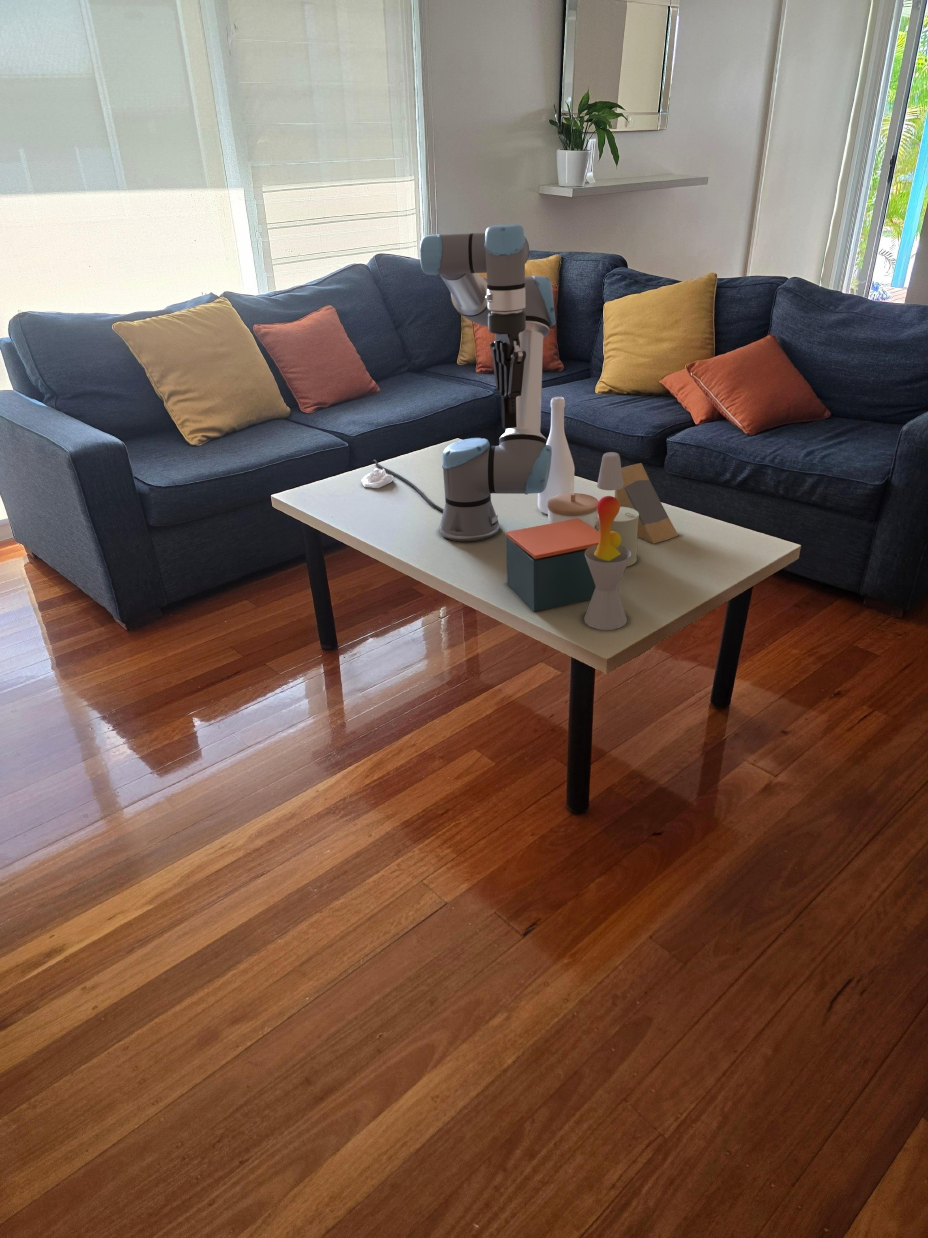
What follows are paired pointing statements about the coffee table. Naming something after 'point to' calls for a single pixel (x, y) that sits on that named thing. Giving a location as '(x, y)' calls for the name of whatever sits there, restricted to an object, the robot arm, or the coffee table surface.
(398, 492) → the coffee table surface
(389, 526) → the coffee table surface
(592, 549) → the lava lamp
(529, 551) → the lid
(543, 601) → the container
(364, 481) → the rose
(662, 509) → the sandwich container
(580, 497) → the lidded bowl
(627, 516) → the can
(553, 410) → the wine bottle
